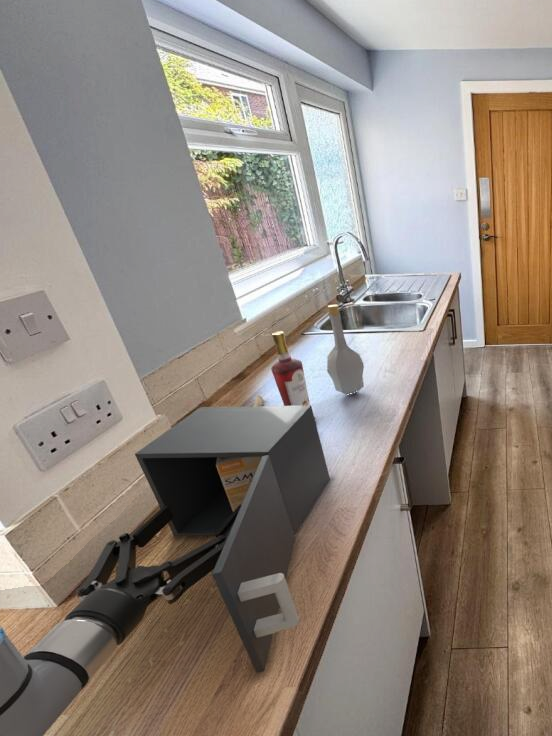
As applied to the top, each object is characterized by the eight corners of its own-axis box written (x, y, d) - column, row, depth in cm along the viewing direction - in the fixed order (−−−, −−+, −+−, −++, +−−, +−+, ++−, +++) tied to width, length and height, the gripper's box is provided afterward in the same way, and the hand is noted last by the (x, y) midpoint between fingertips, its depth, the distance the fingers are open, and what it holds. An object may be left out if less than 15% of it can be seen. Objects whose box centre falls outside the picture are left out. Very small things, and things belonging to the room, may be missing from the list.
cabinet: (295, 536, 78) (267, 452, 70) (174, 537, 79) (134, 453, 71) (330, 480, 93) (311, 405, 85) (228, 481, 94) (200, 407, 86)
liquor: (303, 416, 119) (279, 327, 108) (322, 420, 117) (300, 330, 106) (282, 430, 113) (254, 336, 102) (302, 434, 110) (276, 339, 100)
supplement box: (234, 518, 82) (213, 466, 77) (235, 503, 86) (216, 452, 80) (280, 502, 85) (263, 451, 80) (279, 489, 89) (263, 439, 84)
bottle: (352, 406, 124) (333, 313, 112) (325, 400, 128) (303, 309, 116) (376, 389, 134) (361, 302, 122) (350, 384, 138) (332, 299, 126)
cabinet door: (325, 531, 79) (302, 448, 71) (305, 658, 58) (269, 560, 50) (290, 540, 77) (262, 456, 70) (256, 673, 56) (211, 574, 48)
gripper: (12, 652, 54) (146, 527, 74) (194, 651, 54) (280, 525, 73) (-18, 615, 51) (129, 495, 71) (174, 613, 51) (269, 493, 70)
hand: (206, 510), depth 72 cm, fingers open, 13 cm apart
